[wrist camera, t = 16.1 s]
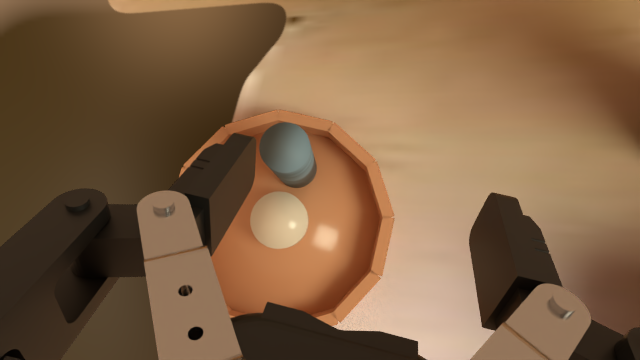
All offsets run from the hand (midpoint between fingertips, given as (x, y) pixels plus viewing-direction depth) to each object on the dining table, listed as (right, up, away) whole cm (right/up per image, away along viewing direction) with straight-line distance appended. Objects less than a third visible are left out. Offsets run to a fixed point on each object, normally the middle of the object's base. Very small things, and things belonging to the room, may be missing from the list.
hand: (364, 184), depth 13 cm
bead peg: (-4, +2, +30) cm, 31 cm away
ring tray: (-6, -5, +31) cm, 31 cm away
